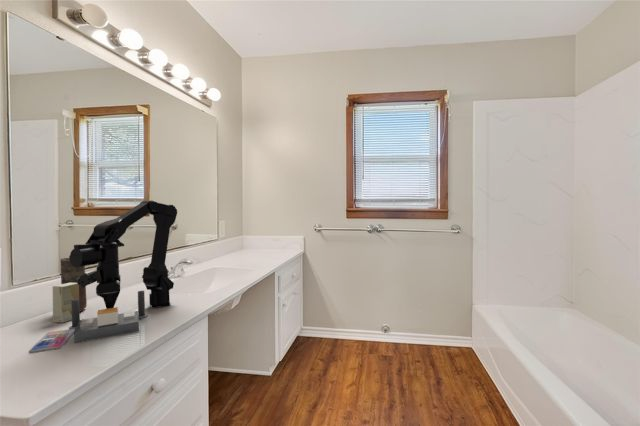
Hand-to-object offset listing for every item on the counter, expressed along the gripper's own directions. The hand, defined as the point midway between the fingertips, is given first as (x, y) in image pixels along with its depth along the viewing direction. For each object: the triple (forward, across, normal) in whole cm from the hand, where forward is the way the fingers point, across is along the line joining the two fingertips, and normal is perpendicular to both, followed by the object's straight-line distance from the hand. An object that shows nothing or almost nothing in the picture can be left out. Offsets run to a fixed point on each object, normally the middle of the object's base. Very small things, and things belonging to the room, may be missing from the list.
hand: (110, 308), depth 106 cm
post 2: (+5, -1, +9) cm, 10 cm away
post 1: (+5, -1, -9) cm, 11 cm away
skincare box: (+5, -13, -13) cm, 19 cm away
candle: (+5, -23, -12) cm, 26 cm away
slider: (+2, +11, 0) cm, 11 cm away
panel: (+5, +8, 0) cm, 9 cm away
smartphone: (+5, +8, -14) cm, 16 cm away
